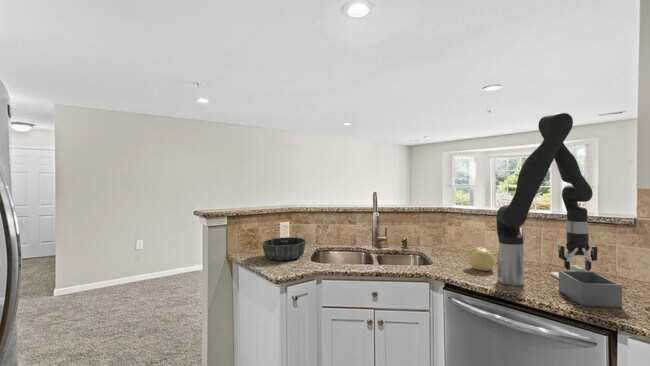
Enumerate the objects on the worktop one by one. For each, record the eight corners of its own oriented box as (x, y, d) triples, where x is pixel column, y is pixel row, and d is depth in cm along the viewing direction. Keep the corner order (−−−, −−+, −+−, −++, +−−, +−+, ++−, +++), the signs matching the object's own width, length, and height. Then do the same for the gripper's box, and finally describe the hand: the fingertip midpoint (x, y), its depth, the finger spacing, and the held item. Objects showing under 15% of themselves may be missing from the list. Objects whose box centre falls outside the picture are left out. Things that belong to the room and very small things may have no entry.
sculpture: (489, 266, 165) (489, 245, 165) (498, 273, 153) (498, 250, 153) (466, 265, 166) (465, 245, 166) (473, 272, 155) (472, 250, 154)
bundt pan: (255, 263, 181) (255, 245, 181) (269, 252, 207) (269, 236, 207) (301, 263, 177) (301, 245, 177) (310, 252, 203) (309, 237, 203)
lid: (570, 288, 131) (570, 272, 131) (550, 275, 148) (550, 261, 148) (608, 289, 129) (608, 273, 129) (583, 276, 146) (583, 262, 146)
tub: (581, 306, 112) (581, 283, 112) (558, 290, 128) (558, 270, 128) (622, 308, 110) (621, 285, 110) (593, 292, 125) (593, 271, 125)
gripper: (562, 232, 136) (563, 271, 136) (602, 233, 133) (602, 273, 133) (554, 229, 144) (554, 266, 144) (591, 230, 141) (591, 268, 141)
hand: (577, 269), depth 139 cm, fingers open, 7 cm apart
